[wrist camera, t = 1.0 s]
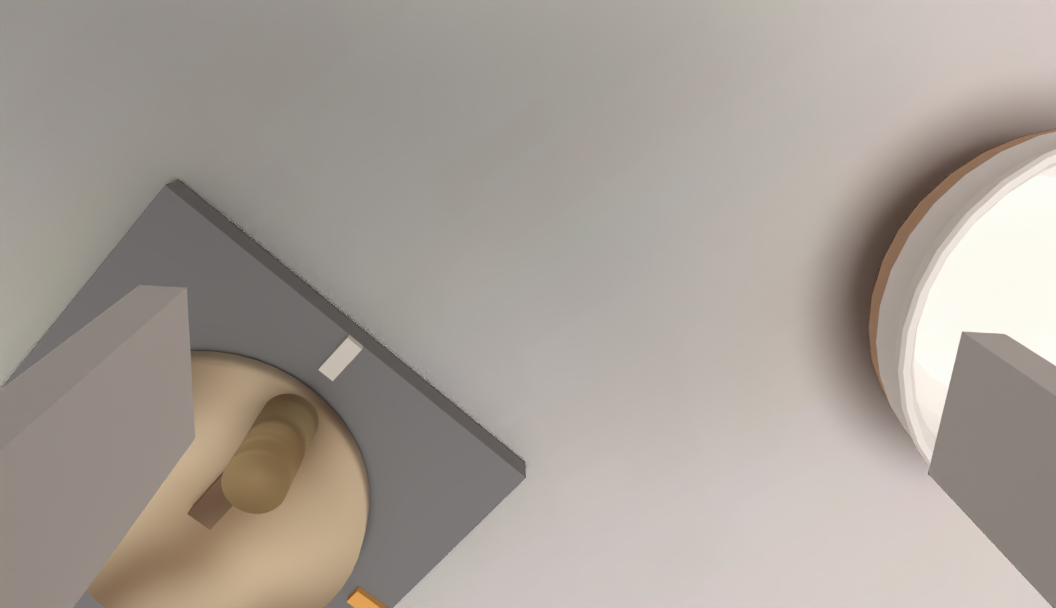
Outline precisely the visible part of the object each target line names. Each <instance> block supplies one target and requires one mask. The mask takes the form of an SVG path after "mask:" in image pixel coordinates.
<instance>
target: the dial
mask: <svg viewBox="0 0 1056 608" xmlns="http://www.w3.org/2000/svg"><path fill="white" fill-rule="evenodd" d="M190 354H191V372H192V390H193V408H194V426H195V439H194V441H193V442H192V443H191V445H190V446H189V447H188V449H187V450H186V452H185V453H184V454H183V456H182V457H181V459H180V460H179V461H178V463H177V464H176V466H175V467H174V468H173V470H172V471H171V473H170V474H169V475H168V477H167V478H166V479H165V481H164V482H163V484H162V485H161V486H160V488H159V489H158V491H157V492H156V493H155V495H154V496H153V498H152V499H151V500H150V502H149V503H148V505H147V506H146V507H145V509H144V510H143V511H142V513H141V514H140V516H139V517H138V518H137V520H136V521H135V523H134V524H133V525H132V527H131V528H130V530H129V531H128V532H127V534H126V535H125V537H124V538H123V539H122V541H121V542H120V543H119V545H118V546H117V548H116V549H115V550H114V552H113V553H112V555H111V556H110V557H109V559H108V560H107V562H106V563H105V564H104V566H103V567H102V569H101V570H100V571H99V573H98V574H97V575H96V577H95V578H94V580H93V581H92V582H91V584H90V585H89V587H88V588H87V589H86V592H88V593H89V594H90V595H91V596H92V597H93V598H94V599H95V600H96V601H97V602H99V603H100V604H101V605H103V606H104V607H105V608H324V607H325V606H326V605H327V604H328V603H329V602H330V601H331V600H332V599H333V598H334V597H335V596H336V595H337V593H338V592H339V591H340V590H341V589H342V587H343V586H344V584H345V583H346V581H347V579H348V578H349V576H350V575H351V573H352V571H353V569H354V566H355V564H356V562H357V560H358V557H359V553H360V550H361V546H362V543H363V539H364V535H365V532H366V528H367V524H368V518H369V510H370V488H369V482H368V476H367V471H366V467H365V464H364V461H363V458H362V455H361V452H360V450H359V448H358V446H357V444H356V442H355V440H354V438H353V436H352V434H351V433H350V431H349V430H348V428H347V427H346V425H345V424H344V422H343V421H342V419H341V418H340V417H339V416H338V415H337V413H336V412H335V411H334V410H333V409H332V408H331V407H330V406H329V404H328V403H327V402H326V401H324V400H323V399H322V398H321V397H320V396H319V395H318V394H316V393H315V392H314V391H313V390H312V389H311V388H309V387H308V386H306V385H305V384H303V383H302V382H300V381H299V380H297V379H296V378H295V377H293V376H291V375H289V374H287V373H285V372H283V371H281V370H279V369H278V368H276V367H273V366H270V365H268V364H265V363H263V362H260V361H258V360H255V359H251V358H247V357H243V356H239V355H235V354H229V353H222V352H214V351H190Z"/></svg>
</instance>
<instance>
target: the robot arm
mask: <svg viewBox="0 0 1056 608" xmlns="http://www.w3.org/2000/svg"><path fill="white" fill-rule="evenodd" d="M194 439H195V426H194V408H193V390H192V372H191V354H190V336H189V318H188V300H187V288H185V287H168V286H150V285H139V286H137V287H136V288H135V289H133V290H132V291H131V292H129V293H128V294H127V295H125V296H124V297H123V298H121V299H120V300H119V301H117V302H116V303H115V304H113V305H112V306H111V307H109V308H108V309H107V310H105V311H104V312H103V313H101V314H100V315H99V316H97V317H96V318H95V319H93V320H92V321H91V322H89V323H88V324H87V325H85V326H84V327H83V328H81V329H80V330H79V331H77V332H76V333H75V334H73V335H72V336H71V337H69V338H68V339H67V340H65V341H64V342H63V343H61V344H60V345H59V346H57V347H56V348H55V349H53V350H52V351H51V352H49V353H48V354H47V355H45V356H44V357H43V358H41V359H40V360H39V361H37V362H36V363H35V364H33V365H32V366H31V367H29V368H28V369H27V370H25V371H24V372H23V373H21V374H20V375H19V376H17V377H16V378H15V379H13V380H12V381H11V382H9V383H8V384H7V385H5V386H4V387H3V388H1V389H0V608H73V607H74V606H75V605H76V603H77V602H78V601H79V599H80V598H81V596H82V595H83V594H84V592H85V591H86V589H87V588H88V587H89V585H90V584H91V582H92V581H93V580H94V578H95V577H96V575H97V574H98V573H99V571H100V570H101V569H102V567H103V566H104V564H105V563H106V562H107V560H108V559H109V557H110V556H111V555H112V553H113V552H114V550H115V549H116V548H117V546H118V545H119V543H120V542H121V541H122V539H123V538H124V537H125V535H126V534H127V532H128V531H129V530H130V528H131V527H132V525H133V524H134V523H135V521H136V520H137V518H138V517H139V516H140V514H141V513H142V511H143V510H144V509H145V507H146V506H147V505H148V503H149V502H150V500H151V499H152V498H153V496H154V495H155V493H156V492H157V491H158V489H159V488H160V486H161V485H162V484H163V482H164V481H165V479H166V478H167V477H168V475H169V474H170V473H171V471H172V470H173V468H174V467H175V466H176V464H177V463H178V461H179V460H180V459H181V457H182V456H183V454H184V453H185V452H186V450H187V449H188V447H189V446H190V445H191V443H192V442H193V441H194ZM928 474H929V475H930V476H931V477H932V478H933V479H934V480H935V481H936V483H937V484H938V485H939V486H940V487H941V488H942V489H943V490H944V491H945V492H946V493H947V494H948V495H949V497H950V498H951V499H952V500H953V501H954V502H955V503H956V504H957V505H958V506H959V507H960V508H961V509H962V510H963V512H964V513H965V514H966V515H967V516H968V517H969V518H970V519H971V520H972V521H973V522H974V523H975V524H976V526H977V527H978V528H979V529H980V530H981V531H982V532H983V533H984V534H985V535H986V536H987V537H988V538H989V539H990V541H991V542H992V543H993V544H994V545H995V546H996V547H997V548H998V549H999V550H1000V551H1001V552H1002V553H1003V555H1004V556H1005V557H1006V558H1007V559H1008V560H1009V561H1010V562H1011V563H1012V564H1013V565H1014V566H1015V567H1016V569H1017V570H1018V571H1019V572H1020V573H1021V574H1022V575H1023V576H1024V577H1025V578H1026V579H1027V580H1028V581H1029V582H1030V584H1031V585H1032V586H1033V587H1034V588H1035V589H1036V590H1037V591H1038V592H1039V593H1040V594H1041V595H1042V596H1043V598H1044V599H1045V600H1046V601H1047V602H1048V603H1049V604H1050V605H1051V606H1052V607H1053V608H1056V366H1055V365H1054V364H1052V363H1050V362H1049V361H1047V360H1046V359H1044V358H1043V357H1041V356H1039V355H1038V354H1036V353H1035V352H1033V351H1031V350H1030V349H1028V348H1027V347H1025V346H1024V345H1022V344H1020V343H1019V342H1017V341H1016V340H1014V339H1013V338H1011V337H1009V336H1008V335H1006V334H999V333H981V332H964V331H962V334H961V338H960V342H959V346H958V350H957V355H956V359H955V363H954V367H953V371H952V375H951V380H950V384H949V388H948V392H947V396H946V400H945V404H944V409H943V413H942V417H941V421H940V425H939V429H938V434H937V438H936V442H935V446H934V450H933V454H932V459H931V463H930V467H929V471H928Z"/></svg>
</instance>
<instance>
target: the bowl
mask: <svg viewBox="0 0 1056 608" xmlns="http://www.w3.org/2000/svg"><path fill="white" fill-rule="evenodd" d="M962 331H964V332H981V333H999V334H1006V335H1008V336H1009V337H1011V338H1013V339H1014V340H1016V341H1017V342H1019V343H1020V344H1022V345H1024V346H1025V347H1027V348H1028V349H1030V350H1031V351H1033V352H1035V353H1036V354H1038V355H1039V356H1041V357H1043V358H1044V359H1046V360H1047V361H1049V362H1050V363H1052V364H1054V365H1055V366H1056V129H1053V130H1049V131H1045V132H1040V133H1036V134H1031V135H1027V136H1022V137H1019V138H1016V139H1014V140H1012V141H1009V142H1007V143H1005V144H1002V145H1000V146H998V147H995V148H993V149H991V150H988V151H986V152H984V153H982V154H981V155H979V156H977V157H976V158H974V159H973V160H971V161H970V162H968V163H967V164H965V165H964V166H962V167H961V168H959V169H957V170H956V171H954V172H953V173H951V174H950V175H949V176H948V177H947V178H946V179H945V180H944V181H942V182H941V183H940V184H939V185H938V186H937V187H936V188H935V189H934V190H933V191H932V192H931V193H929V194H928V195H927V196H926V197H925V198H924V199H923V200H922V201H921V202H920V203H919V204H918V205H917V207H916V208H915V209H914V211H913V212H912V213H911V214H910V216H909V217H908V218H907V220H906V221H905V222H904V224H903V225H902V226H901V228H900V229H899V230H898V232H897V234H896V236H895V238H894V240H893V242H892V244H891V245H890V247H889V249H888V251H887V253H886V255H885V257H884V259H883V262H882V265H881V268H880V271H879V275H878V278H877V281H876V284H875V288H874V291H873V294H872V300H871V310H870V320H869V338H870V347H871V356H872V362H873V365H874V368H875V371H876V374H877V377H878V380H879V383H880V386H881V389H882V391H883V393H884V394H885V396H886V398H887V399H888V401H889V404H890V407H891V408H892V410H893V411H894V413H895V414H896V416H897V418H898V419H899V421H900V422H901V424H902V426H903V427H904V429H905V430H906V432H907V433H908V434H909V435H910V436H911V437H912V440H913V443H914V444H915V446H916V447H917V449H918V450H919V452H920V454H921V455H922V457H923V458H924V460H925V462H926V463H927V465H928V466H929V467H930V463H931V459H932V454H933V450H934V446H935V442H936V438H937V434H938V429H939V425H940V421H941V417H942V413H943V409H944V404H945V400H946V396H947V392H948V388H949V384H950V380H951V375H952V371H953V367H954V363H955V359H956V355H957V350H958V346H959V342H960V338H961V334H962Z"/></svg>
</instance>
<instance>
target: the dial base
mask: <svg viewBox="0 0 1056 608" xmlns="http://www.w3.org/2000/svg"><path fill="white" fill-rule="evenodd" d="M139 285H150V286H168V287H185V288H187V300H188V318H189V336H190V351H214V352H222V353H229V354H235V355H239V356H243V357H247V358H251V359H255V360H258V361H260V362H263V363H265V364H268V365H270V366H273V367H276V368H278V369H279V370H281V371H283V372H285V373H287V374H289V375H291V376H293V377H295V378H296V379H297V380H299V381H300V382H302V383H303V384H305V385H306V386H308V387H309V388H311V389H312V390H313V391H314V392H315V393H316V394H318V395H319V396H320V397H321V398H322V399H323V400H324V401H326V402H327V403H328V404H329V406H330V407H331V408H332V409H333V410H334V411H335V412H336V413H337V415H338V416H339V417H340V418H341V419H342V421H343V422H344V424H345V425H346V427H347V428H348V430H349V431H350V433H351V434H352V436H353V438H354V440H355V442H356V444H357V446H358V448H359V450H360V452H361V455H362V458H363V461H364V464H365V467H366V471H367V476H368V482H369V488H370V510H369V518H368V524H367V528H366V532H365V535H364V539H363V543H362V546H361V550H360V553H359V557H358V560H357V562H356V564H355V566H354V569H353V571H352V573H351V575H350V576H349V578H348V579H347V581H346V583H345V584H344V586H343V587H342V589H341V590H340V591H339V592H338V593H337V595H336V596H335V597H334V598H333V599H332V600H331V601H330V602H329V603H328V604H327V605H326V606H325V607H324V608H393V607H394V606H395V605H396V604H397V603H398V602H399V601H400V600H401V599H402V598H403V597H404V596H405V595H406V594H407V593H408V592H409V591H410V590H411V589H412V588H413V587H414V586H415V585H416V584H417V583H418V582H419V581H421V580H422V579H423V578H424V577H425V576H426V575H427V574H428V573H429V572H430V571H431V570H432V569H433V568H434V567H435V566H436V565H437V564H438V563H439V562H440V561H441V560H442V559H443V558H444V557H445V556H446V555H447V554H448V553H449V552H450V551H451V550H452V549H453V548H454V547H455V546H456V545H457V544H458V543H459V542H460V541H461V540H462V539H464V538H465V537H466V536H467V535H468V534H469V533H470V532H471V531H472V530H473V529H474V528H475V527H476V526H477V525H478V524H479V523H480V522H481V521H482V520H483V519H484V518H485V517H486V516H487V515H488V514H489V513H490V512H491V511H492V510H493V509H494V508H495V507H496V506H497V505H498V504H499V503H500V502H501V501H502V500H503V499H504V498H505V497H506V496H508V495H509V494H510V493H511V492H512V491H513V490H514V489H515V488H516V487H517V486H518V485H519V484H520V483H521V482H522V481H523V480H524V479H525V478H526V472H525V462H524V461H523V460H522V459H521V458H519V457H518V456H517V455H516V454H515V453H513V452H512V451H511V450H510V449H508V448H507V447H506V446H505V445H504V444H502V443H501V442H500V441H499V440H497V439H496V438H495V437H494V436H493V435H491V434H490V433H489V432H488V431H486V430H485V429H484V428H483V427H481V426H480V425H479V424H478V423H477V422H475V421H474V420H473V419H472V418H470V417H469V416H468V415H467V414H466V413H464V412H463V411H462V410H461V409H459V408H458V407H457V406H456V405H455V404H453V403H452V402H451V401H450V400H448V399H447V398H446V397H445V396H443V395H442V394H441V393H440V392H439V391H437V390H436V389H435V388H434V387H432V386H431V385H430V384H429V383H428V382H426V381H425V380H424V379H423V378H421V377H420V376H419V375H418V374H417V373H415V372H414V371H413V370H412V369H410V368H409V367H408V366H407V365H405V364H404V363H403V362H402V361H401V360H399V359H398V358H397V357H396V356H394V355H393V354H392V353H391V352H390V351H388V350H387V349H386V348H385V347H383V346H382V345H381V344H380V343H379V342H377V341H376V340H375V339H374V338H372V337H371V336H370V335H369V334H367V333H366V332H365V331H364V330H363V329H361V328H360V327H359V326H358V325H356V324H355V323H354V322H353V321H352V320H350V319H349V318H348V317H347V316H345V315H344V314H343V313H342V312H341V311H339V310H338V309H337V308H336V307H334V306H333V305H332V304H331V303H329V302H328V301H327V300H326V299H325V298H323V297H322V296H321V295H320V294H318V293H317V292H316V291H315V290H314V289H312V288H311V287H310V286H309V285H307V284H306V283H305V282H304V281H303V280H301V279H300V278H299V277H298V276H296V275H295V274H294V273H293V272H291V271H290V270H289V269H288V268H287V267H285V266H284V265H283V264H282V263H280V262H279V261H278V260H277V259H276V258H274V257H273V256H272V255H271V254H269V253H268V252H267V251H266V250H265V249H263V248H262V247H261V246H260V245H258V244H257V243H256V242H255V241H253V240H252V239H251V238H250V237H249V236H247V235H246V234H245V233H244V232H242V231H241V230H240V229H239V228H238V227H236V226H235V225H234V224H233V223H231V222H230V221H229V220H228V219H227V218H225V217H224V216H223V215H222V214H220V213H219V212H218V211H217V210H216V209H214V208H213V207H212V206H211V205H209V204H208V203H207V202H206V201H204V200H203V199H202V198H201V197H200V196H198V195H197V194H196V193H195V192H193V191H192V190H191V189H190V188H189V187H187V186H186V185H185V184H184V183H182V182H181V181H180V180H179V179H178V180H176V181H174V182H172V183H170V184H167V185H165V187H164V188H163V189H162V190H161V192H160V193H159V194H158V195H157V196H156V198H155V199H154V200H153V201H152V203H151V204H150V205H149V206H148V208H147V209H146V210H145V211H144V213H143V214H142V215H141V216H140V217H139V219H138V220H137V221H136V222H135V224H134V225H133V226H132V227H131V229H130V230H129V231H128V232H127V234H126V235H125V236H124V237H123V239H122V240H121V241H120V242H119V243H118V245H117V246H116V247H115V248H114V250H113V251H112V252H111V253H110V255H109V256H108V257H107V258H106V260H105V261H104V262H103V263H102V265H101V266H100V267H99V268H98V269H97V271H96V272H95V273H94V274H93V276H92V277H91V278H90V279H89V281H88V282H87V283H86V284H85V286H84V287H83V288H82V289H81V290H80V292H79V293H78V294H77V295H76V297H75V298H74V299H73V300H72V302H71V303H70V304H69V305H68V307H67V308H66V309H65V310H64V312H63V313H62V314H61V315H60V316H59V318H58V319H57V320H56V321H55V323H54V324H53V325H52V326H51V328H50V329H49V330H48V331H47V333H46V334H45V335H44V336H43V337H42V339H41V340H40V341H39V342H38V344H37V345H36V346H35V347H34V349H33V350H32V351H31V352H30V354H29V355H28V356H27V357H26V359H25V360H24V361H23V362H22V363H21V365H20V366H19V367H18V368H17V370H16V371H15V372H14V373H13V375H12V376H11V377H10V378H9V380H8V381H7V382H6V383H5V384H4V386H5V385H7V384H8V383H9V382H11V381H12V380H13V379H15V378H16V377H17V376H19V375H20V374H21V373H23V372H24V371H25V370H27V369H28V368H29V367H31V366H32V365H33V364H35V363H36V362H37V361H39V360H40V359H41V358H43V357H44V356H45V355H47V354H48V353H49V352H51V351H52V350H53V349H55V348H56V347H57V346H59V345H60V344H61V343H63V342H64V341H65V340H67V339H68V338H69V337H71V336H72V335H73V334H75V333H76V332H77V331H79V330H80V329H81V328H83V327H84V326H85V325H87V324H88V323H89V322H91V321H92V320H93V319H95V318H96V317H97V316H99V315H100V314H101V313H103V312H104V311H105V310H107V309H108V308H109V307H111V306H112V305H113V304H115V303H116V302H117V301H119V300H120V299H121V298H123V297H124V296H125V295H127V294H128V293H129V292H131V291H132V290H133V289H135V288H136V287H137V286H139ZM4 386H3V387H4ZM3 387H2V388H3ZM73 608H105V607H104V606H103V605H101V604H100V603H99V602H97V601H96V600H95V599H94V598H93V597H92V596H91V595H90V594H89V593H88V592H86V591H85V592H84V594H83V595H82V596H81V598H80V599H79V601H78V602H77V603H76V605H75V606H74V607H73Z"/></svg>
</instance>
